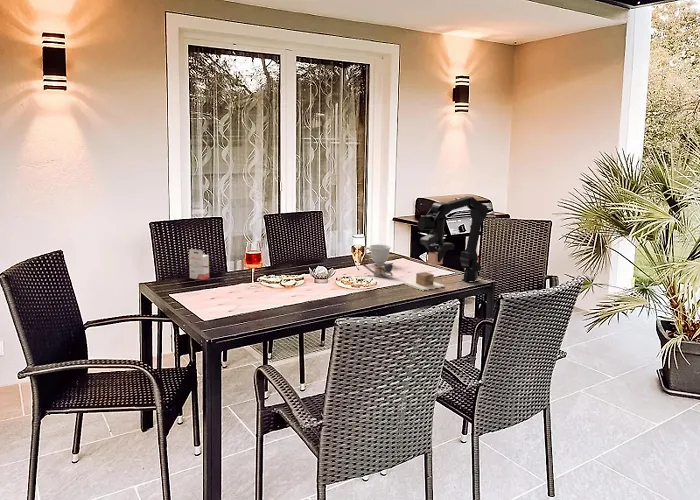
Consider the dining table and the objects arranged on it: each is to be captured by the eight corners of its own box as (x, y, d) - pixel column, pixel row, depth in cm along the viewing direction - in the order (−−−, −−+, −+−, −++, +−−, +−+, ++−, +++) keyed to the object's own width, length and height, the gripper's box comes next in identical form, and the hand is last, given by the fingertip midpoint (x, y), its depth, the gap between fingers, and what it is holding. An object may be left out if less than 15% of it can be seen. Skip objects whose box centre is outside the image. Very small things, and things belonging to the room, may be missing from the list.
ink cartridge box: (209, 278, 290) (209, 248, 287) (203, 280, 285) (203, 250, 282) (195, 276, 293) (194, 247, 290) (189, 278, 288) (188, 249, 285)
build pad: (426, 280, 296) (426, 278, 296) (444, 287, 285) (445, 285, 285) (404, 284, 289) (404, 282, 288) (422, 291, 277) (422, 289, 277)
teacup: (361, 262, 333) (362, 244, 331) (386, 261, 337) (387, 244, 335) (367, 267, 322) (367, 249, 320) (393, 266, 325) (393, 248, 323)
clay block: (435, 261, 288) (436, 251, 287) (442, 263, 284) (443, 253, 283) (427, 262, 285) (428, 252, 284) (434, 264, 281) (435, 254, 280)
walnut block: (425, 281, 291) (425, 271, 290) (433, 284, 286) (433, 274, 285) (415, 283, 287) (416, 273, 286) (423, 286, 282) (424, 275, 281)
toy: (385, 284, 299) (394, 268, 296) (355, 266, 301) (364, 250, 298) (389, 280, 308) (398, 264, 305) (360, 262, 310) (369, 246, 307)
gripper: (412, 227, 284) (410, 258, 287) (438, 233, 269) (435, 266, 272) (429, 226, 290) (427, 256, 293) (456, 232, 275) (453, 264, 278)
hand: (435, 261), depth 284 cm, fingers closed on clay block, 5 cm apart
